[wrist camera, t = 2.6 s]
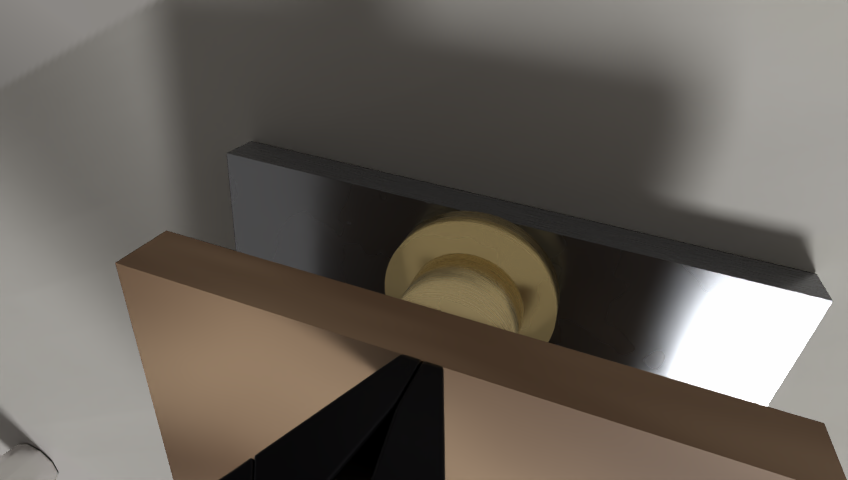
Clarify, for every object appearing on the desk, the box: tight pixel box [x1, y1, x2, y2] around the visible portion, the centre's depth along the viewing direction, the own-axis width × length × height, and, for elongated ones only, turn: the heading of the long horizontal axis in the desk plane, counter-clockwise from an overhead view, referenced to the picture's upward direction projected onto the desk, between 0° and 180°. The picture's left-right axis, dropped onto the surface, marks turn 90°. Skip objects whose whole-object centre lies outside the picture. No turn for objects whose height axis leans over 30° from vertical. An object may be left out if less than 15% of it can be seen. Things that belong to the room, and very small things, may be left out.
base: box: [227, 141, 833, 406], centre depth 17 cm, size 16×16×4 cm
